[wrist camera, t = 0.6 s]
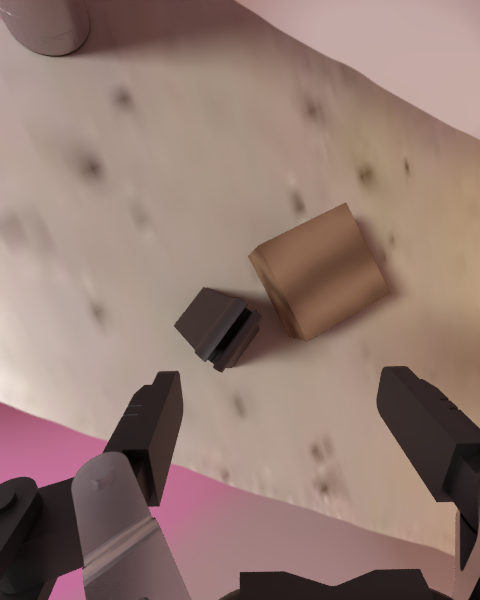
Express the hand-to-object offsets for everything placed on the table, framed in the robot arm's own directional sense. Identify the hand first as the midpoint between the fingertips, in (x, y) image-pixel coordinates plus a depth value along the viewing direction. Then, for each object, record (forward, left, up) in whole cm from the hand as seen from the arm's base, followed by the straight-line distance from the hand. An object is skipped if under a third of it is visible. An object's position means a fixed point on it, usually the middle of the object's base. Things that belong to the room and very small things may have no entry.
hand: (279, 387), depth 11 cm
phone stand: (-1, 0, -24) cm, 24 cm away
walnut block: (-1, +14, -24) cm, 28 cm away
